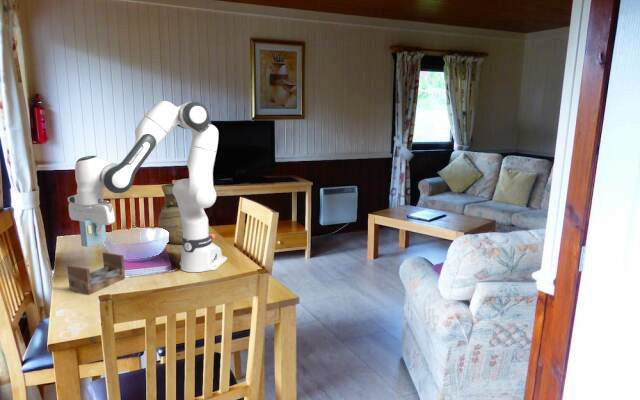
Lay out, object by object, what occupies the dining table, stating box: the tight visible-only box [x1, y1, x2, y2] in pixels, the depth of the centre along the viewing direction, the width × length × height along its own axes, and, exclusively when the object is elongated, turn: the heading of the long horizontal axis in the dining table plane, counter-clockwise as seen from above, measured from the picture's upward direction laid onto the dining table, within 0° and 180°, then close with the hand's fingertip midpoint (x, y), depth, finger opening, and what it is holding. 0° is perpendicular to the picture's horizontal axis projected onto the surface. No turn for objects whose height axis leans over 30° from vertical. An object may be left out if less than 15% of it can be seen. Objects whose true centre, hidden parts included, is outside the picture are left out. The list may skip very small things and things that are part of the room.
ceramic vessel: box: [158, 182, 183, 245], centre depth 239 cm, size 19×21×30 cm
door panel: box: [78, 219, 107, 248], centre depth 179 cm, size 9×4×10 cm, turn 158°
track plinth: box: [66, 251, 126, 296], centre depth 183 cm, size 18×10×10 cm, turn 158°
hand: (93, 233), depth 179 cm, fingers closed on door panel, 3 cm apart
